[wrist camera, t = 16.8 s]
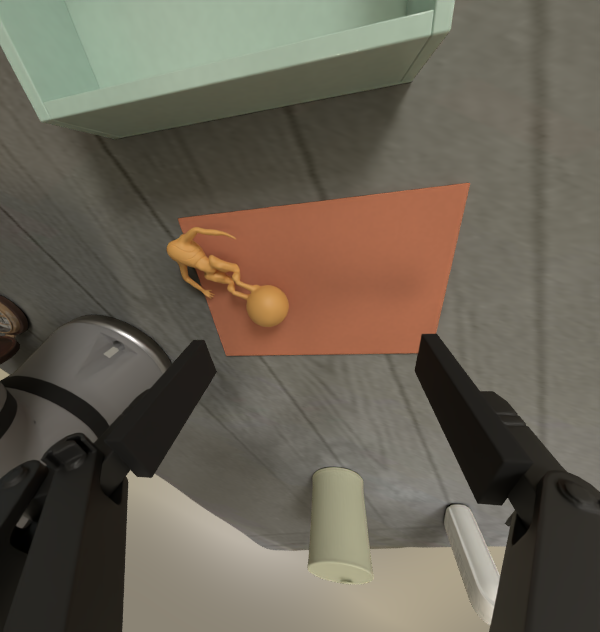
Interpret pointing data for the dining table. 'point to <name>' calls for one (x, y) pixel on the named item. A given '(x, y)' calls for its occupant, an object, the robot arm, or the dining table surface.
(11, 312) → the compass
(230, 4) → the basin
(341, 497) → the can
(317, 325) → the mat
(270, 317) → the figurine
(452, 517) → the white curved piece
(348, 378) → the dining table surface
